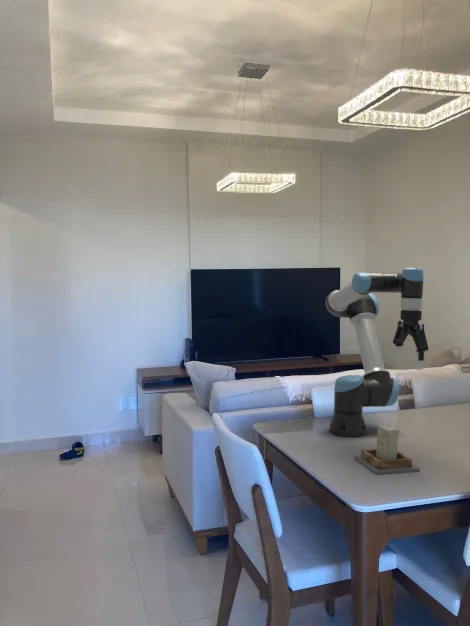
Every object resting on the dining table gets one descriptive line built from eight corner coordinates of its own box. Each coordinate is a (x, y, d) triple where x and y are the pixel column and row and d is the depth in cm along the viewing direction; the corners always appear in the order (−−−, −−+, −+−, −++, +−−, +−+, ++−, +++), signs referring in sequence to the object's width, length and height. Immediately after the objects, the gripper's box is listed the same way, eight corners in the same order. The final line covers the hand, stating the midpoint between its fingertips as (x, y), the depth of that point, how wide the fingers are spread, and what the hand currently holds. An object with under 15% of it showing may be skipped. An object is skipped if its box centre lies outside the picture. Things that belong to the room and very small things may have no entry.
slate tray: (354, 458, 194) (354, 455, 194) (394, 455, 197) (394, 452, 197) (376, 474, 178) (376, 471, 178) (419, 471, 182) (419, 468, 182)
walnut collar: (361, 457, 192) (361, 450, 192) (392, 454, 195) (393, 448, 195) (378, 469, 180) (378, 461, 180) (411, 466, 183) (412, 459, 183)
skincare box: (375, 459, 190) (376, 425, 189) (385, 458, 191) (387, 424, 190) (386, 465, 184) (388, 430, 183) (397, 464, 185) (398, 429, 185)
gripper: (440, 311, 190) (437, 371, 192) (402, 307, 214) (400, 360, 216) (421, 311, 188) (418, 372, 190) (385, 307, 213) (383, 361, 214)
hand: (408, 366), depth 203 cm, fingers open, 13 cm apart
